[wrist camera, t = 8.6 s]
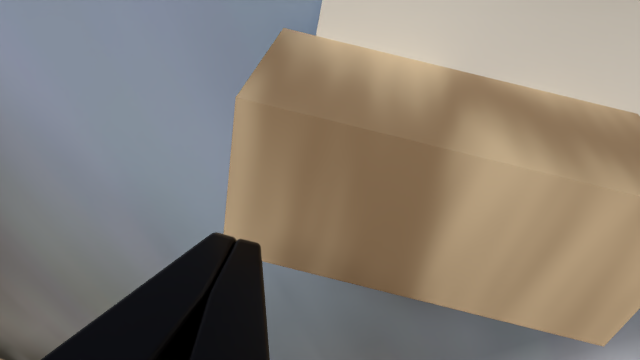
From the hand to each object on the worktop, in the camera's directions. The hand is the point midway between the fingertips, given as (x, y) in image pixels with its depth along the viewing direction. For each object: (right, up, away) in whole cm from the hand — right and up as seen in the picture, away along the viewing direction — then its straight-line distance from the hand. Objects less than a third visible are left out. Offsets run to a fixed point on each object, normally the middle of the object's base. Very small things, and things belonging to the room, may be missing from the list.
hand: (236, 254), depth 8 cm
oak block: (0, +2, +3) cm, 4 cm away
